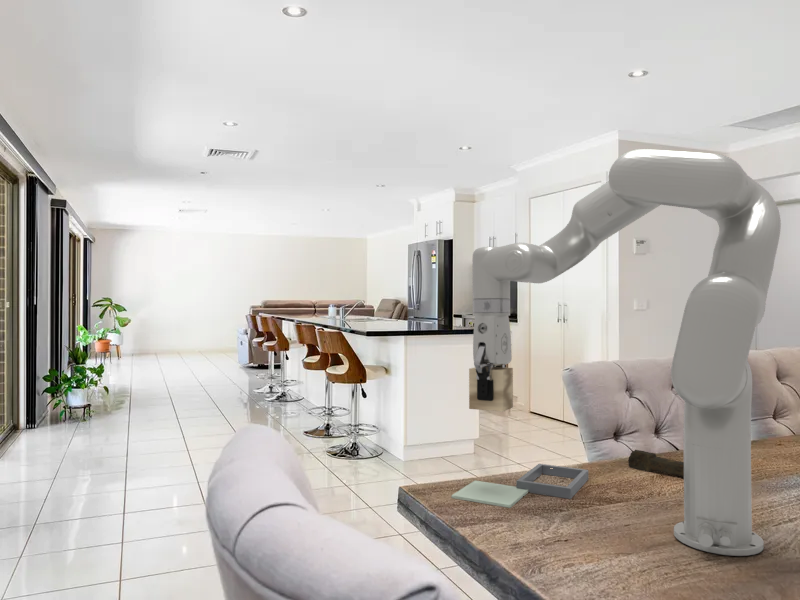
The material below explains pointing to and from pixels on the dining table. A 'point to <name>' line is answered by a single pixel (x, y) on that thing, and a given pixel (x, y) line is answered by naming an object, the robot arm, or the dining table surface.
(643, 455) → the hand tool
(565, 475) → the gray rectangular frame
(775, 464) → the dining table surface
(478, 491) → the pad
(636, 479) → the dining table surface
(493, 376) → the block
